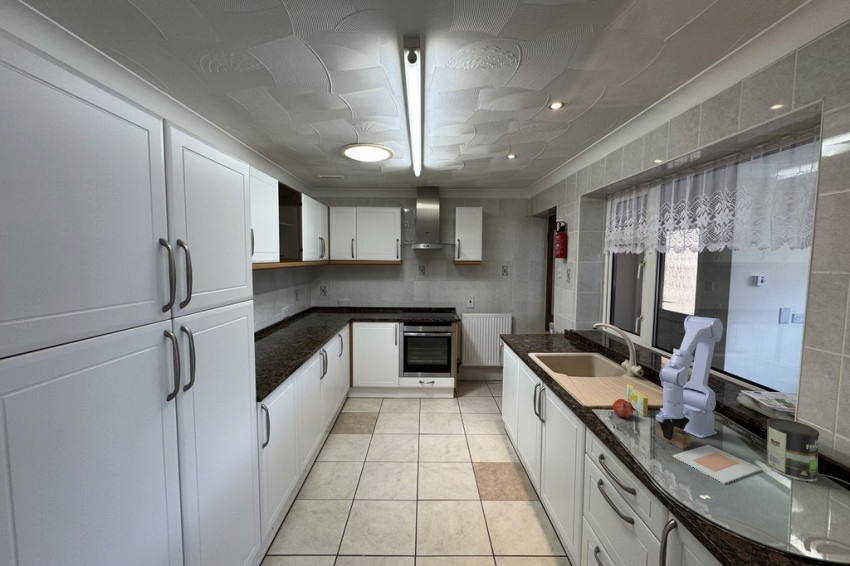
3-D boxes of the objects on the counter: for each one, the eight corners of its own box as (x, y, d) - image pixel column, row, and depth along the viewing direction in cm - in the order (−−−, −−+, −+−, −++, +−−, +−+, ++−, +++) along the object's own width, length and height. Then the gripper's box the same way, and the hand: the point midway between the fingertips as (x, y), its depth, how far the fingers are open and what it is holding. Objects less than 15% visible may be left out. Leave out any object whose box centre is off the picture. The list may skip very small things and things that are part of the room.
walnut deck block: (663, 434, 117) (663, 421, 117) (690, 447, 109) (690, 433, 109) (655, 436, 116) (656, 423, 116) (682, 449, 108) (682, 435, 107)
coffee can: (823, 476, 93) (825, 429, 92) (809, 486, 88) (810, 438, 88) (774, 457, 102) (775, 415, 101) (759, 465, 98) (760, 422, 97)
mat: (708, 446, 109) (708, 444, 109) (761, 470, 96) (761, 468, 96) (672, 457, 103) (672, 455, 103) (724, 484, 90) (724, 482, 90)
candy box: (648, 417, 131) (648, 398, 130) (642, 417, 131) (642, 397, 131) (630, 401, 147) (631, 384, 146) (625, 401, 147) (626, 383, 147)
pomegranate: (610, 416, 136) (612, 410, 129) (612, 400, 139) (614, 393, 132) (631, 422, 132) (633, 417, 125) (632, 406, 135) (635, 399, 128)
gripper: (675, 393, 118) (674, 428, 118) (647, 399, 113) (647, 435, 114) (696, 400, 111) (695, 437, 112) (667, 407, 107) (667, 445, 107)
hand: (672, 437), depth 112 cm, fingers open, 5 cm apart
